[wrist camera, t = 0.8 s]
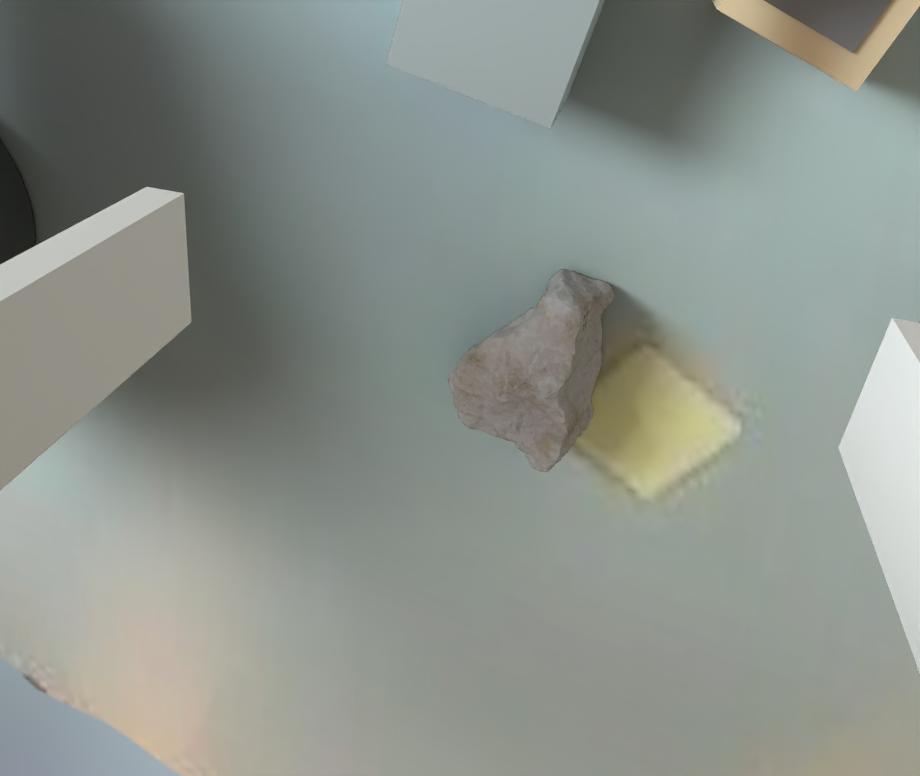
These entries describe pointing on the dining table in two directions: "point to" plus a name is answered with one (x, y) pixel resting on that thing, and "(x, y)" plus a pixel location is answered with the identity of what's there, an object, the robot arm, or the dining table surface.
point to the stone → (538, 371)
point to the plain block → (498, 50)
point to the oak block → (827, 30)
